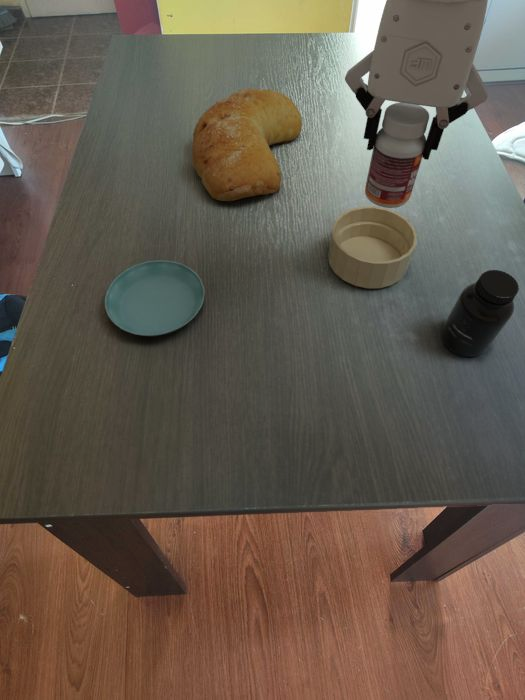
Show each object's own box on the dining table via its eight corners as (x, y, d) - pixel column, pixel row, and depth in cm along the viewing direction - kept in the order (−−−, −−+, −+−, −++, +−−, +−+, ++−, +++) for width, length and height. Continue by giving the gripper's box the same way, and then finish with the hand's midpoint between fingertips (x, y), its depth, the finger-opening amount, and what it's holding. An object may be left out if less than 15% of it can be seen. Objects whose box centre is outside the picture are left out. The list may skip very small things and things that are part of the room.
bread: (220, 109, 104) (216, 61, 96) (307, 122, 101) (311, 73, 93) (167, 198, 86) (157, 148, 78) (271, 215, 83) (271, 165, 75)
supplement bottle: (439, 353, 66) (470, 297, 56) (440, 317, 70) (469, 259, 60) (489, 363, 65) (529, 308, 55) (487, 325, 69) (525, 268, 59)
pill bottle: (411, 211, 61) (437, 128, 52) (364, 208, 62) (382, 126, 52) (407, 182, 65) (431, 100, 56) (363, 180, 65) (379, 98, 56)
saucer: (95, 339, 68) (90, 328, 65) (126, 267, 76) (122, 255, 74) (194, 350, 66) (192, 340, 64) (214, 276, 75) (213, 264, 73)
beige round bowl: (411, 243, 79) (421, 215, 74) (401, 298, 72) (411, 271, 67) (336, 228, 81) (341, 199, 76) (319, 280, 74) (323, 252, 69)
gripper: (344, -27, 42) (323, 154, 57) (545, -6, 40) (468, 178, 54) (359, -53, 46) (336, 122, 61) (541, -36, 44) (471, 143, 58)
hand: (398, 147), depth 58 cm, fingers closed on pill bottle, 6 cm apart
